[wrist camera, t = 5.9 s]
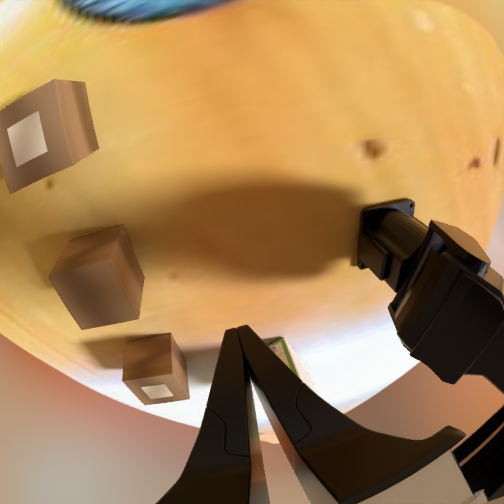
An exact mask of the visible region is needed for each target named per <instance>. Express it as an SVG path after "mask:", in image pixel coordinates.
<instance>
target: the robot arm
mask: <svg viewBox="0 0 504 504" xmlns="http://www.w3.org/2000/svg"><path fill="white" fill-rule="evenodd" d="M414 208H415V202H414V201H412V200H411V199H409V200H404V201H399V202H394V203H389V204H384V205H379V206H375V207H370V208H366V209H364V210H363V211H362V213H361V225H360V234H359V244H358V261H357V266H358V268H359V269H361V270H363V269H366V268H369V269H370V270H371V271H372V272H373V273H374V274H375V275H376V276H377V277H378V279H380V280H381V281H382V280H384V281H385V282H386V283H387V284H388V285H389V286H390V287H391V288H392V289H393V290H394V292H396V293H397V294H396V296H395V297H394V299H393V301H392V302H391V303H390V304H389V306H388V310H389V313H390V315H391V318H392V320H393V322H394V325H395V328H396V330H397V335H398V337H399V338H400V340H401V342H402V344H403V346H404V347H405V348H406V349H407V350H408V351H410V356H411V357H413V358H415V359H417V360H419V361H421V362H423V363H424V364H425V365H427V366H428V367H429V368H430V369H431V370H432V371H433V372H434V373H435V374H436V375H437V376H438V377H439V378H440V379H441V380H442V381H443V382H447V383H449V384H455V383H456V382H457V381H458V380H459V379H460V378H461V377H462V376H463V375H479V376H483V377H485V378H486V379H487V380H488V381H490V382H491V383H492V384H493V385H494V386H495V387H496V388H497V389H498V390H500V391H501V392H502V393H503V394H504V279H503V277H502V276H501V275H499V274H498V273H497V272H496V271H495V270H493V269H492V268H491V267H490V264H491V261H490V259H489V257H488V256H487V255H486V253H485V252H484V250H483V249H482V248H481V246H480V245H479V244H478V242H477V241H476V240H475V239H474V238H473V237H471V236H470V235H468V234H467V233H465V232H464V231H462V230H460V229H459V228H457V227H454V226H451V225H448V224H445V223H441V222H438V221H435V220H431V221H430V223H429V227H428V226H426V225H425V224H424V223H422V222H421V221H419V220H418V219H417V218H415V217H414V216H413V215H414ZM367 213H368V214H367ZM366 214H367V215H366ZM237 331H238V332H237ZM238 335H239V336H238ZM241 346H242V347H241ZM244 357H245V358H244ZM246 364H247V365H246ZM248 371H249V372H248ZM249 375H250V376H249ZM250 378H251V380H250ZM251 381H252V384H253V386H254V388H255V390H256V393H257V395H258V397H259V399H260V402H261V404H262V406H263V408H264V410H265V413H266V415H267V417H268V419H269V421H270V423H271V425H272V427H273V430H274V432H275V434H276V436H277V438H278V440H279V442H280V444H281V446H282V448H283V450H284V452H285V454H286V456H287V458H288V460H289V462H290V464H291V466H292V468H293V470H294V472H295V474H296V476H297V478H298V480H299V482H300V483H301V486H302V487H303V489H304V491H305V493H306V495H307V497H308V499H309V500H310V502H311V504H485V503H486V502H488V501H491V500H494V499H497V498H500V497H503V496H504V405H503V406H502V407H501V408H500V409H499V410H497V411H496V412H495V413H494V414H493V415H492V416H491V417H490V418H489V419H488V420H487V421H486V422H485V423H483V424H482V425H481V426H480V427H479V428H478V429H477V430H476V431H475V432H474V433H472V434H471V435H470V436H469V437H468V438H467V439H465V440H464V441H463V442H462V443H460V444H459V445H458V446H457V447H456V448H454V449H453V450H452V451H451V448H452V447H453V446H455V445H456V444H457V443H458V442H459V441H461V440H462V439H463V438H464V437H465V436H466V434H465V433H464V432H463V431H461V430H459V429H456V428H454V427H452V426H449V425H448V426H446V427H444V428H443V429H441V430H440V431H438V432H437V433H435V434H434V435H433V436H431V437H429V438H427V439H424V440H411V439H406V438H401V437H396V436H392V435H388V434H384V433H380V432H376V431H373V430H370V429H367V428H365V427H363V426H361V425H359V424H358V423H356V422H355V421H353V420H352V419H350V418H349V417H347V416H346V415H344V414H343V413H341V412H340V411H338V410H337V409H336V408H334V407H333V406H331V405H330V404H329V403H327V402H326V401H325V400H323V399H322V398H321V397H320V396H318V395H317V394H316V393H315V392H314V391H313V390H312V389H311V388H310V387H309V386H308V385H306V384H305V383H304V382H303V381H302V380H301V379H300V378H299V377H298V376H297V375H296V374H295V373H294V372H293V371H292V370H291V369H290V368H289V367H288V366H287V365H286V364H285V363H284V362H283V361H282V360H281V359H280V358H279V357H278V356H277V355H276V354H275V353H274V352H273V351H272V350H271V349H270V348H269V347H268V346H267V345H266V343H265V342H264V341H263V340H262V339H261V338H260V337H259V336H258V335H257V334H256V333H255V332H254V331H253V330H252V329H251V328H250V327H249V326H248V325H243V326H239V327H237V329H236V328H231V329H227V330H226V331H225V333H224V337H223V341H222V345H221V349H220V353H219V357H218V361H217V365H216V369H215V373H214V377H213V381H212V385H211V389H210V393H209V397H208V401H207V405H206V406H207V407H206V409H205V413H204V417H203V420H202V424H201V427H200V431H199V433H198V436H197V439H196V442H195V444H194V446H193V449H192V451H191V454H190V456H189V458H188V461H187V463H186V466H185V468H184V470H183V472H182V474H181V476H180V477H179V479H178V480H177V482H176V483H175V484H174V485H173V486H172V487H171V488H170V489H169V490H168V491H167V493H166V494H165V495H164V496H163V497H162V498H161V499H160V500H159V501H158V502H157V503H156V504H270V501H269V495H268V489H267V483H266V478H265V471H264V465H263V458H262V452H261V445H260V439H259V432H258V426H257V419H256V412H255V406H254V399H253V392H252V385H251Z"/></svg>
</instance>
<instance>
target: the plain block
mask: <svg viewBox="0 0 504 504" xmlns="http://www.w3.org/2000/svg"><path fill="white" fill-rule="evenodd" d="M48 278H49V279H50V281H51V283H52V285H53V286H54V288H55V290H56V291H57V293H58V295H59V296H60V298H61V300H62V301H63V303H64V304H65V306H66V308H67V309H68V311H69V312H70V314H71V315H72V317H73V318H74V320H75V321H76V323H77V324H78V325H79V327H80V328H81V330H84V329H90V328H95V327H101V326H106V325H111V324H116V323H122V322H127V321H132V320H136V319H139V315H140V307H141V299H142V291H143V284H144V278H145V277H144V275H143V273H142V270H141V268H140V265H139V263H138V261H137V258H136V256H135V253H134V251H133V248H132V246H131V243H130V241H129V238H128V235H127V233H126V230H125V227H124V225H123V224H122V225H119V226H116V227H112V228H109V229H105V230H102V231H99V232H96V233H92V234H89V235H86V236H83V237H80V238H77V239H74V240H71V241H70V242H69V243H68V245H67V246H66V248H65V249H64V251H63V253H62V254H61V256H60V257H59V259H58V261H57V262H56V264H55V266H54V267H53V269H52V271H51V273H50V274H49V276H48Z"/></svg>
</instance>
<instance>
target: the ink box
mask: <svg viewBox="0 0 504 504" xmlns="http://www.w3.org/2000/svg"><path fill="white" fill-rule="evenodd" d="M268 347H269V348H270V349H271V350H272V351H273V352H274V353H275V354H276V355H277V356H278V357H279V358H280V359H281V360H282V361H283V362H284V363H285V364H286V365H287V366H288V367H289V368H290V369H291V370H292V371H293V372H294V373H295V374H296V375H297V376H298V377H299V378H300V379H301V380H302V381H303V382H304V383H305V384H306V385H308V386H309V387H310V388H311V389H312V390H313V391H314V392H315V393H316V394H317V395H318V396H319V394H318V392H317V390H316V388H315V386H314V384H313V381H312V379H311V376H310V374H309V372H308V370H307V367H306V365H305V362H304V360H303V359H302V358H301V357H300V355H299V354H298V353H297V352H296V351H295V350H294V348H293V347H292V346H291V345H290V344H289V343H288V342H287V340H286V339H285V338H281V339H279V340H277V341H276V342H274V343H272V344H270V345H268Z"/></svg>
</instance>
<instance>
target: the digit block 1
mask: <svg viewBox="0 0 504 504" xmlns="http://www.w3.org/2000/svg"><path fill="white" fill-rule="evenodd" d="M97 149H99V146H98V142H97V138H96V134H95V130H94V125H93V121H92V116H91V111H90V107H89V101H88V96H87V90H86V85H85V82H77V81H68V80H56V79H54V80H52V81H50V82H48V83H46V84H44V85H42V86H41V87H39V88H37V89H35V90H33V91H32V92H30V93H28V94H27V95H25V96H23V97H22V98H20V99H18V100H17V101H15V102H14V103H12V104H11V105H9V106H7V107H6V108H5V109H3V110H2V111H0V164H1V168H2V171H3V175H4V178H5V181H6V184H7V187H8V190H9V193H10V194H12V193H14V192H16V191H18V190H20V189H22V188H24V187H26V186H28V185H30V184H32V183H34V182H36V181H38V180H40V179H42V178H45V177H47V176H49V175H51V174H54V173H56V172H58V171H61V170H63V169H65V168H68V167H70V166H73V165H74V164H76V163H77V162H79V161H80V160H82V159H83V158H85V157H86V156H88V155H90V154H91V153H93V152H94V151H96V150H97Z"/></svg>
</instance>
